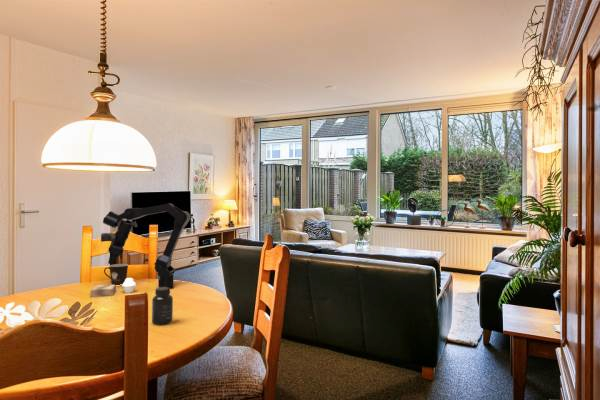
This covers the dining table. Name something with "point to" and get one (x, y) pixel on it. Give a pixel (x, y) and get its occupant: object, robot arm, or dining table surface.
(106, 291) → the brown flat block
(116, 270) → the coffee mug
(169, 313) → the supplement bottle
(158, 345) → the dining table surface
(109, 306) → the dining table surface
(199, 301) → the dining table surface
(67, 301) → the dining table surface
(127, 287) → the muffin
